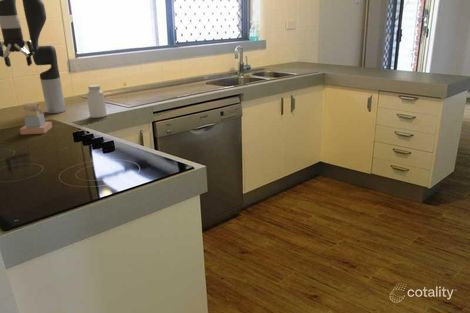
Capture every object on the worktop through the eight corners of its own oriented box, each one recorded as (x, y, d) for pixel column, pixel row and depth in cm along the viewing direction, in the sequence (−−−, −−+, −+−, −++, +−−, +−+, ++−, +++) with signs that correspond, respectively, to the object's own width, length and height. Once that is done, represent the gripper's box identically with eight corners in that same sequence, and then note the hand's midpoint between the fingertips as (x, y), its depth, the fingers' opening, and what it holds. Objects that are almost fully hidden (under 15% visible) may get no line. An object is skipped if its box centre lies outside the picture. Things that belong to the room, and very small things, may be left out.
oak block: (30, 114, 184) (27, 103, 182) (41, 113, 184) (39, 102, 183) (25, 117, 179) (23, 105, 178) (37, 116, 180) (35, 105, 178)
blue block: (31, 123, 186) (29, 113, 184) (45, 123, 186) (43, 113, 185) (26, 127, 180) (24, 117, 179) (40, 126, 181) (38, 116, 179)
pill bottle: (108, 113, 209) (104, 83, 204) (104, 117, 202) (99, 87, 196) (92, 114, 209) (88, 84, 204) (87, 118, 201) (82, 87, 196)
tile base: (29, 128, 189) (28, 122, 188) (52, 126, 189) (51, 121, 188) (20, 134, 179) (19, 129, 178) (44, 133, 180) (43, 127, 179)
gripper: (31, 25, 178) (39, 63, 184) (-3, 26, 177) (5, 65, 183) (25, 27, 171) (33, 66, 177) (-11, 28, 170) (-2, 68, 176)
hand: (19, 65), depth 180 cm, fingers open, 8 cm apart
